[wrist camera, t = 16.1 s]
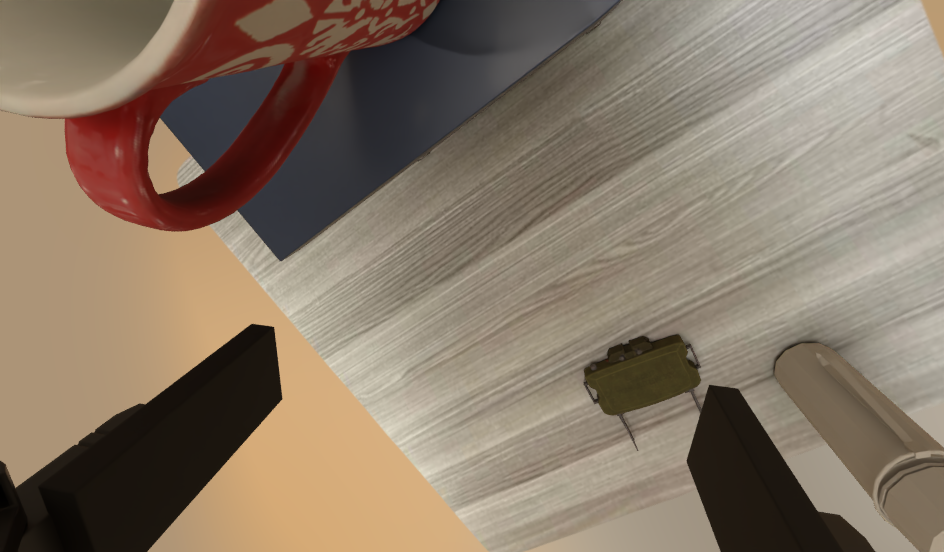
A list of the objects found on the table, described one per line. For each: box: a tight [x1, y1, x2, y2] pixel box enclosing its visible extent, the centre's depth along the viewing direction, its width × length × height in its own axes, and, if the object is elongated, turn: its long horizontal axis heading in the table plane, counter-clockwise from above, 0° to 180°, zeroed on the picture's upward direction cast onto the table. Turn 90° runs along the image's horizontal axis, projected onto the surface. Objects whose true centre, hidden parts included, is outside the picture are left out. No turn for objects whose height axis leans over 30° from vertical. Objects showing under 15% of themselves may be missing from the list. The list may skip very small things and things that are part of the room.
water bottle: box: [774, 343, 944, 552], centre depth 45 cm, size 9×8×25 cm
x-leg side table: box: [160, 0, 622, 261], centre depth 33 cm, size 26×14×34 cm, turn 126°
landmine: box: [584, 335, 702, 451], centre depth 60 cm, size 14×3×15 cm
